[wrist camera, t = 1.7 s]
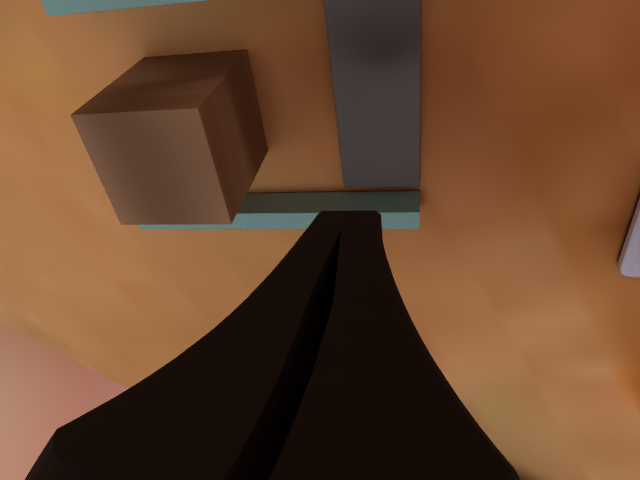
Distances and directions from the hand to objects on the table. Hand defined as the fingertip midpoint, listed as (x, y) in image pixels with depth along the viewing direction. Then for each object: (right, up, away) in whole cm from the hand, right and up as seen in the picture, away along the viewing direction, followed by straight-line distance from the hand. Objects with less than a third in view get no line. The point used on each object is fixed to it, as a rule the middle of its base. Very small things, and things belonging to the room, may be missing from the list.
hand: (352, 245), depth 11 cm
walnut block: (-5, +5, +8) cm, 11 cm away
